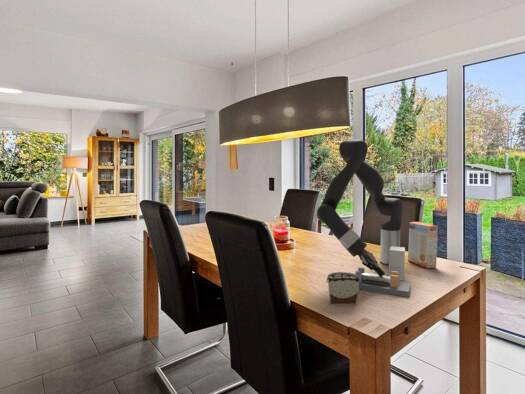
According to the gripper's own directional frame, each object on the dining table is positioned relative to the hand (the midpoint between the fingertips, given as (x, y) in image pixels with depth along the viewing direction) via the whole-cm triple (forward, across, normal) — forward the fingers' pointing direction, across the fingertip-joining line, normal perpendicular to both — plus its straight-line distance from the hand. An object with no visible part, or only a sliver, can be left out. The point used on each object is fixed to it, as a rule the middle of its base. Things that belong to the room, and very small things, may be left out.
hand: (383, 275), depth 136 cm
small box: (+7, +17, +1) cm, 18 cm away
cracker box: (+14, +44, -6) cm, 47 cm away
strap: (-6, 0, +7) cm, 9 cm away
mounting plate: (+2, 0, +6) cm, 6 cm away
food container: (-5, -21, +12) cm, 25 cm away
